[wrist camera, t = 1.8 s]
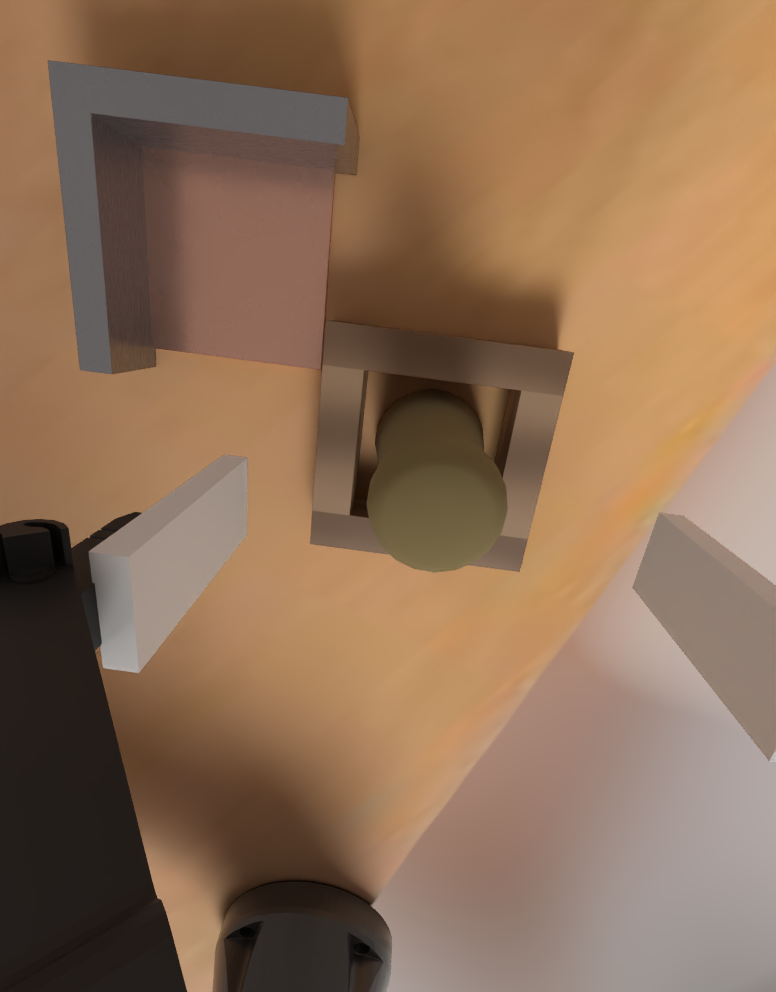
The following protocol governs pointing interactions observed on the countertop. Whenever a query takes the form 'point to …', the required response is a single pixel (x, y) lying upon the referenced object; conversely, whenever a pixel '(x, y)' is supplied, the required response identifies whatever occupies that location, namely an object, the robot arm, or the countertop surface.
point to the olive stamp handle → (434, 484)
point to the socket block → (439, 357)
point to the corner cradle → (196, 214)
